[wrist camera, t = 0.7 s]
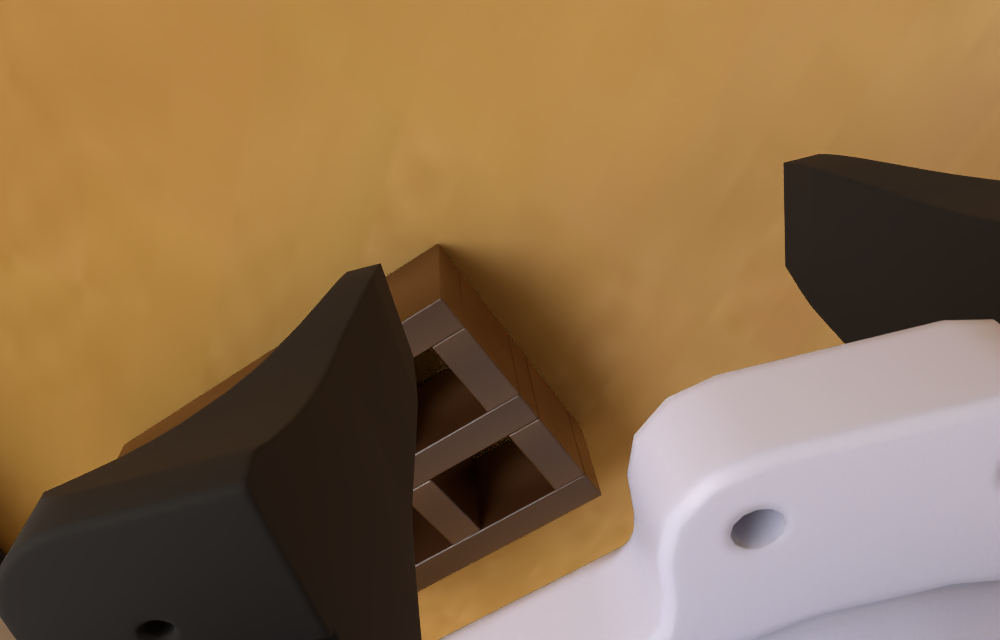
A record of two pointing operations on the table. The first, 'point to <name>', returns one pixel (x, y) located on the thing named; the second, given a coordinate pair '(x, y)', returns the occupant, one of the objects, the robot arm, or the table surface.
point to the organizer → (468, 427)
